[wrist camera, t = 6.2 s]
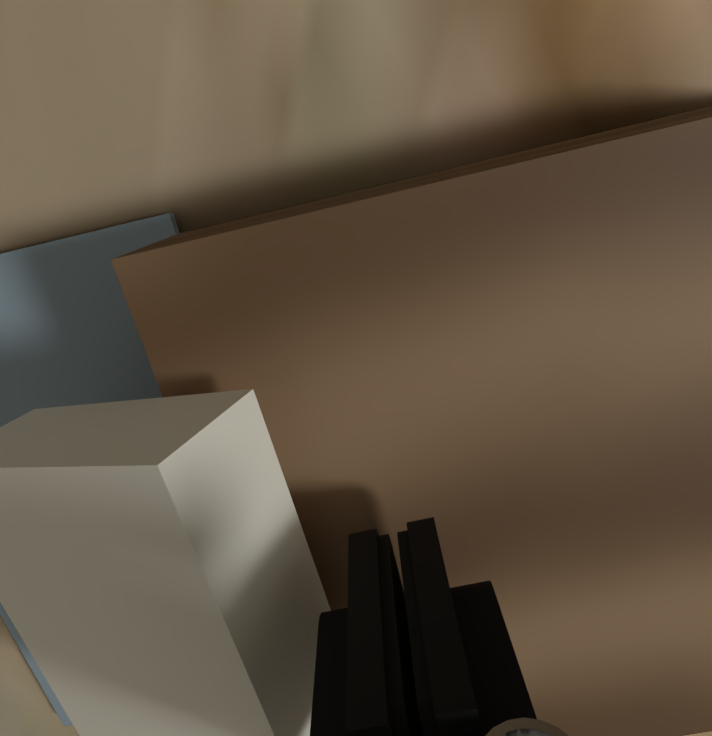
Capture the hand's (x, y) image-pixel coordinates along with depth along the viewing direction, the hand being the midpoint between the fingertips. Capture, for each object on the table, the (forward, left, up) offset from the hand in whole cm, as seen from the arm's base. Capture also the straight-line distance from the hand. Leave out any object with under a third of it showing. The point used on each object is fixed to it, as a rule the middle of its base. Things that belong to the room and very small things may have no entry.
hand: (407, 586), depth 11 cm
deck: (0, +3, -5) cm, 6 cm away
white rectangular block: (0, -4, -1) cm, 5 cm away
